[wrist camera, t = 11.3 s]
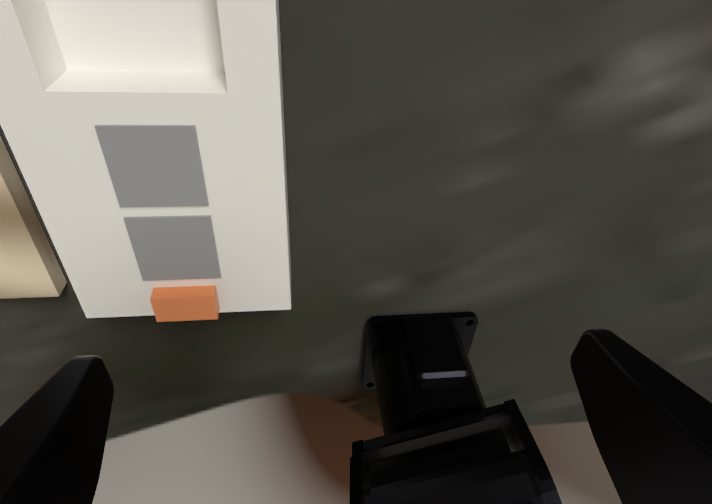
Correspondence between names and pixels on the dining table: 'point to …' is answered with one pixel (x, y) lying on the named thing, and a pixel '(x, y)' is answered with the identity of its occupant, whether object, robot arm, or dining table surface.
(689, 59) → the dining table surface
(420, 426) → the robot arm
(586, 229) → the dining table surface
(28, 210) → the birch pad
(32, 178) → the switch housing
